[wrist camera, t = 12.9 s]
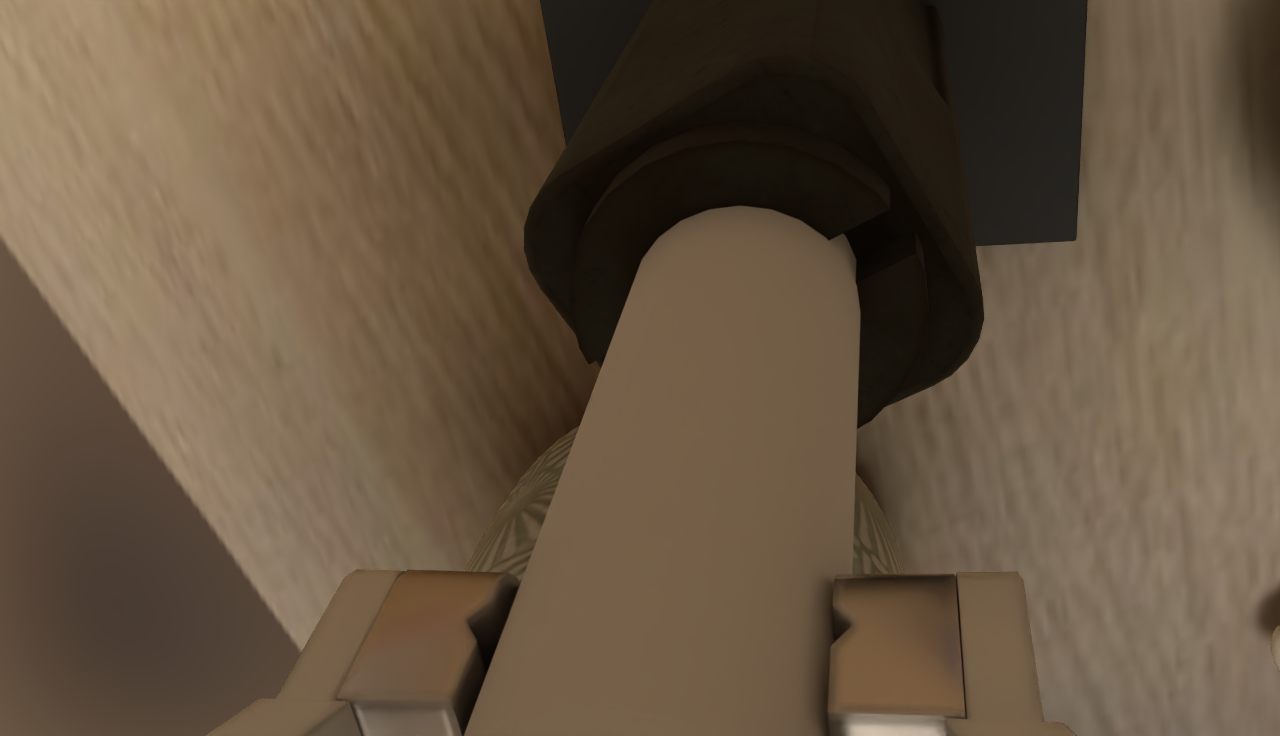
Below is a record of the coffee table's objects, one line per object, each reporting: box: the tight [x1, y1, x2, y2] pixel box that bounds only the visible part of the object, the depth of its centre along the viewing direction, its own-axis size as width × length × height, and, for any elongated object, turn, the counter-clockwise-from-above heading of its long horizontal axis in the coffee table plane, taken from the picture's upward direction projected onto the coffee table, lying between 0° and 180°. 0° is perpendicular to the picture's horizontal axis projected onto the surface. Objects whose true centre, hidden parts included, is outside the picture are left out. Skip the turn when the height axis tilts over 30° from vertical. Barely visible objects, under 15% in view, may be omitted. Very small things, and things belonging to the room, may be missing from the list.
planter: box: [465, 426, 904, 584], centre depth 31 cm, size 12×12×11 cm
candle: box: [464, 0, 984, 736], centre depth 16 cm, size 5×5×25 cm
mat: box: [540, 0, 1088, 246], centre depth 27 cm, size 12×12×1 cm
